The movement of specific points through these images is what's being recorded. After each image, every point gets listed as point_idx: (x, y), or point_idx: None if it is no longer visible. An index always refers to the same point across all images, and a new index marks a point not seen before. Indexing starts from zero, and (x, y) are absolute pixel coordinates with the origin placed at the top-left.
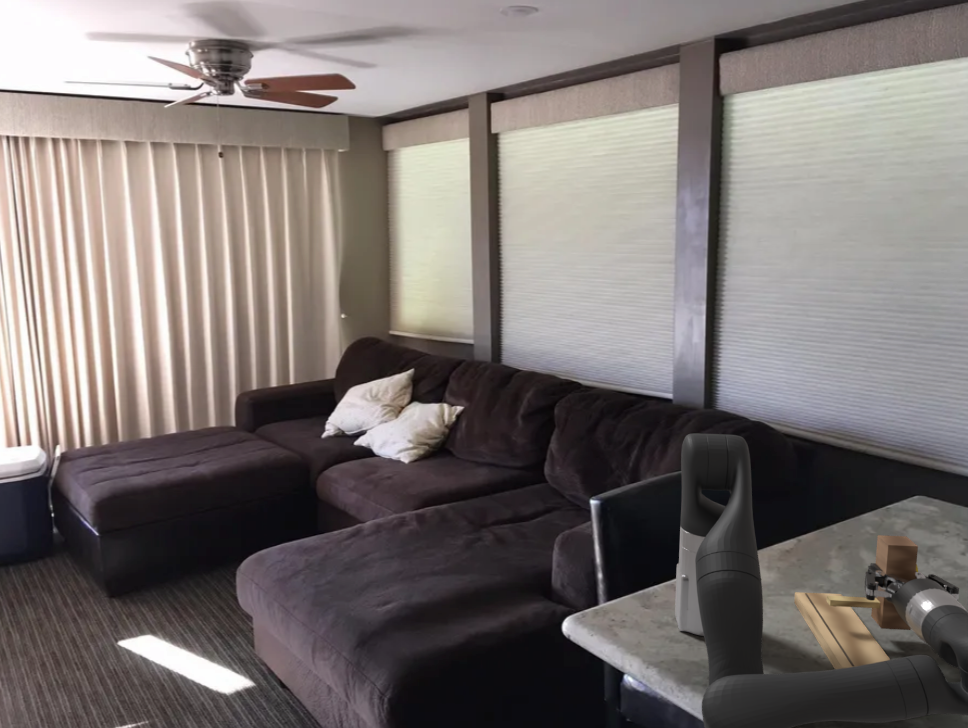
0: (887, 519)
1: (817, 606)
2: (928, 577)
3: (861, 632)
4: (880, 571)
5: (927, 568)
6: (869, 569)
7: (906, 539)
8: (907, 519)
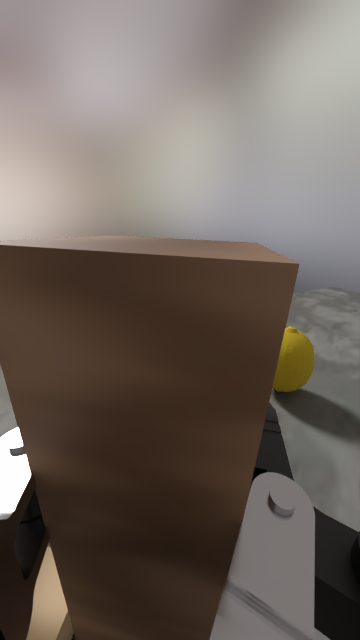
0: (299, 298)
1: None
2: (356, 566)
3: (35, 611)
4: (10, 447)
5: (330, 349)
6: None
7: (238, 245)
8: (318, 299)
